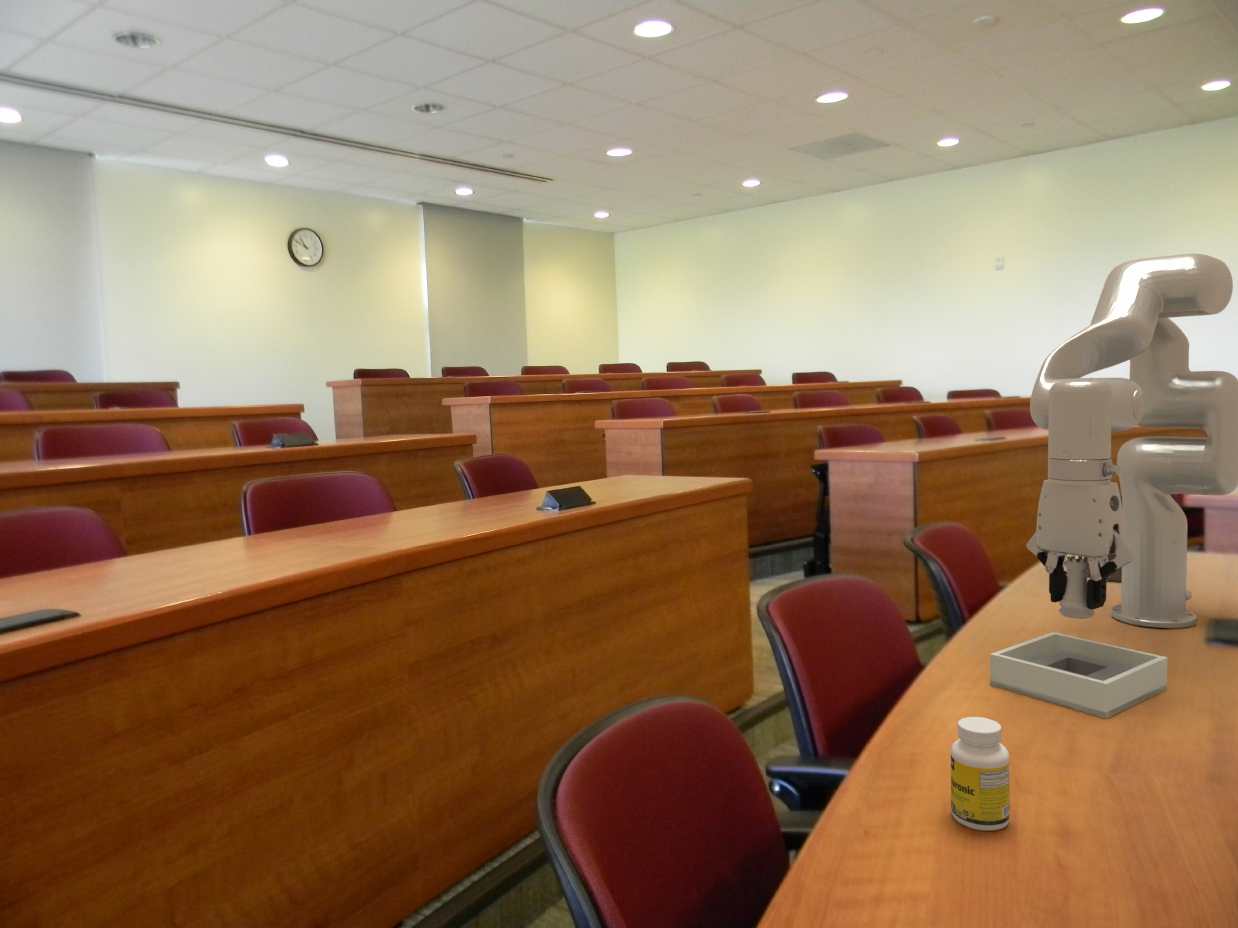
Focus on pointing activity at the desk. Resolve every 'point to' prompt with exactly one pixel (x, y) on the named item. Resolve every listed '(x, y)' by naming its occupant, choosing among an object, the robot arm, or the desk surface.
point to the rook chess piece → (1076, 589)
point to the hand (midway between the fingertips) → (1076, 602)
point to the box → (1079, 673)
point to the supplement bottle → (980, 775)
